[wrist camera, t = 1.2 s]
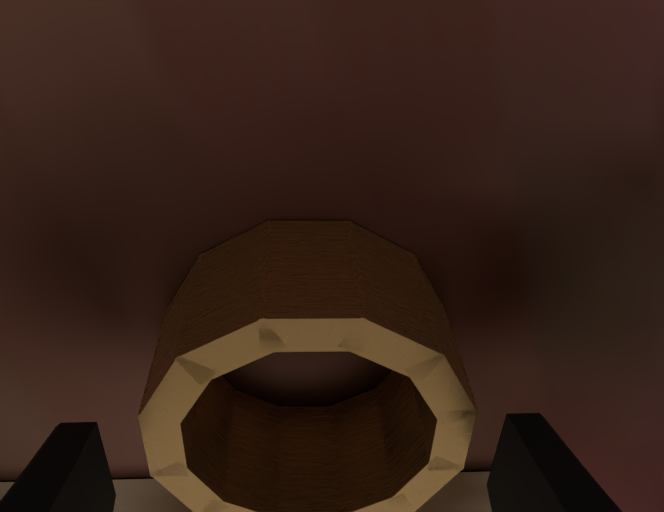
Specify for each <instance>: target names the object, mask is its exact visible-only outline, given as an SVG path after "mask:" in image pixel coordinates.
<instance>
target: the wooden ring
mask: <svg viewBox="0 0 664 512" xmlns="http://www.w3.org/2000/svg"><path fill="white" fill-rule="evenodd" d="M335 351H350V352H352V353H355V354H357V355H359V356H362V357H364V358H366V359H368V360H371V361H373V362H375V363H378V364H380V365H382V366H385V367H387V368H389V369H392V370H391V372H390V373H389V374H388V375H387V376H386V377H385V378H384V379H383V380H382V382H381V383H380V384H379V385H378V386H377V387H376V388H374V389H371V390H369V391H367V392H364V393H362V394H359V395H357V396H354V397H352V398H349V399H347V400H344V401H342V402H340V403H337V404H335V405H332V406H296V407H280V406H277V405H275V404H272V403H270V402H267V401H264V400H262V399H259V398H256V397H254V396H251V395H249V394H246V393H243V392H241V391H238V390H235V388H234V387H233V386H232V385H231V384H230V383H229V382H228V381H227V380H226V379H225V377H224V376H223V374H226V373H228V372H230V371H232V370H235V369H237V368H239V367H241V366H244V365H246V364H248V363H251V362H253V361H255V360H257V359H260V358H262V357H264V356H266V355H269V354H271V353H273V352H335ZM477 413H478V410H477V406H476V403H475V400H474V397H473V394H472V391H471V388H470V385H469V381H468V378H467V375H466V372H465V369H464V366H463V363H462V360H461V357H460V353H459V350H458V347H457V344H456V341H455V338H454V335H453V332H452V329H451V325H450V322H449V319H448V316H447V313H446V310H445V307H444V305H442V303H441V301H440V299H439V298H438V296H437V294H436V292H435V290H434V289H433V287H432V285H431V283H430V281H429V280H428V278H427V276H426V274H425V272H424V271H423V269H422V267H421V265H420V263H419V262H418V259H417V256H416V255H415V254H414V253H411V252H409V251H407V250H405V249H403V248H401V247H399V246H397V245H395V244H393V243H391V242H389V241H387V240H386V239H384V238H382V237H380V236H378V235H376V234H374V233H372V232H370V231H368V230H366V229H364V228H362V227H360V226H358V225H357V224H355V223H353V222H352V221H349V220H347V221H271V220H268V221H266V222H264V223H262V224H260V225H258V226H256V227H254V228H252V229H250V230H248V231H246V232H244V233H242V234H240V235H238V236H236V237H234V238H232V239H230V240H228V241H226V242H224V243H222V244H220V245H218V246H216V247H214V248H212V249H210V250H208V251H206V252H204V253H201V254H200V255H198V258H197V260H196V262H195V263H194V265H193V267H192V268H191V270H190V272H189V273H188V275H187V277H186V278H185V280H184V282H183V283H182V285H181V287H180V288H179V290H178V292H177V293H176V295H175V297H174V298H173V300H172V302H171V303H170V305H169V307H167V309H166V313H165V317H164V321H163V324H162V328H161V332H160V335H159V339H158V343H157V347H156V350H155V354H154V358H153V361H152V365H151V369H150V372H149V376H148V380H147V384H146V387H145V391H144V395H143V398H142V402H141V406H140V410H139V413H138V418H137V419H139V422H140V427H141V432H142V437H143V442H144V447H145V452H146V456H147V461H148V466H149V474H150V476H151V477H153V478H154V479H155V480H157V481H158V482H159V483H160V484H161V485H162V486H164V487H165V488H166V489H167V490H168V491H169V492H171V493H172V494H173V495H174V496H175V497H176V498H178V499H179V500H180V501H181V502H182V503H183V504H185V505H186V506H187V507H188V508H189V509H190V510H192V511H193V512H416V511H417V509H419V508H420V507H421V506H422V505H423V504H424V503H425V502H426V501H428V500H429V499H430V498H431V497H432V496H433V495H434V494H435V493H436V492H438V491H439V490H440V489H441V488H442V487H443V486H444V485H445V484H447V483H448V482H449V481H450V480H451V479H452V478H453V477H454V476H455V475H457V474H458V473H459V472H460V471H461V470H463V468H464V467H465V466H464V464H465V460H466V456H467V452H468V448H469V443H470V439H471V435H472V431H473V427H474V423H475V419H476V415H477Z"/></svg>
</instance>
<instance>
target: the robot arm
mask: <svg viewBox="0 0 664 512" xmlns="http://www.w3.org/2000/svg"><path fill="white" fill-rule="evenodd" d="M486 485H487V490H488V495H489V500H490V505H491V510H492V512H622V511H621V510H620V509H619V507H618V506H617V505H616V504H615V503H614V502H613V501H612V499H611V498H610V497H609V496H608V495H607V494H606V492H605V491H604V490H603V489H602V488H601V487H600V485H599V484H598V483H597V482H596V481H595V479H594V478H593V477H592V476H591V475H590V473H589V472H588V471H587V470H586V469H585V467H584V466H583V465H582V464H581V463H580V461H579V460H578V459H577V458H576V456H575V455H574V454H573V453H572V452H571V450H570V449H569V448H568V447H567V445H566V444H565V443H564V442H563V440H562V439H561V438H560V437H559V435H558V434H557V433H556V432H555V431H554V429H553V428H552V427H551V426H550V424H549V423H548V422H547V421H546V419H545V418H544V417H543V416H542V415H541V414H540V413H522V414H506V418H505V421H504V425H503V428H502V432H501V435H500V439H499V442H498V446H497V449H496V453H495V456H494V460H493V463H492V467H491V470H490V474H489V477H488V481H487V484H486ZM115 499H116V492H115V489H114V485H113V481H112V477H111V474H110V470H109V466H108V462H107V459H106V455H105V451H104V447H103V443H102V440H101V436H100V432H99V428H98V425H97V422H78V423H60V424H59V425H58V426H56V427H55V429H54V430H53V431H52V433H51V434H50V435H49V437H48V438H47V440H46V441H45V442H44V444H43V445H42V446H41V448H40V449H39V450H38V452H37V453H36V454H35V456H34V457H33V458H32V460H31V461H30V462H29V464H28V465H27V466H26V468H25V469H24V470H23V472H22V473H21V474H20V476H19V477H18V478H17V480H16V481H15V482H14V484H13V485H12V486H11V487H10V489H9V490H8V491H7V493H6V494H5V495H4V496H3V498H2V499H1V500H0V512H113V510H114V505H115Z"/></svg>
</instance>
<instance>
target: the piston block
mask: <svg viewBox="0 0 664 512" xmlns="http://www.w3.org/2000/svg"><path fill="white" fill-rule="evenodd" d="M489 474H490V472H459V473H458V474H457V475H455V476H454V477H453V478H452V479H451V480H450V481H449V482H448V483H447V484H445V485H444V486H443V487H442V488H441V489H440V490H439V491H438V492H436V493H435V494H434V495H433V496H432V497H431V498H430V499H429V500H428V501H426V502H425V503H424V504H423V505H422V506H421V507H420V508H419V509H417V511H416V512H492V510H491V505H490V500H489V495H488V490H487V485H486V484H487V481H488V477H489ZM112 481H113V485H114V489H115V492H116V499H115V505H114V510H113V512H193V511H192V510H190V509H189V508H188V507H187V506H186V505H185V504H183V503H182V502H181V501H180V500H179V499H178V498H176V497H175V496H174V495H173V494H172V493H171V492H169V491H168V490H167V489H166V488H165V487H164V486H162V485H161V484H160V483H159V482H158V481H157V480H155V479H121V480H112ZM13 484H14V482H0V500H1V499H2V498H3V496H4V495H5V494H6V493H7V491H8V490H9V489H10V487H11V486H12V485H13Z"/></svg>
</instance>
